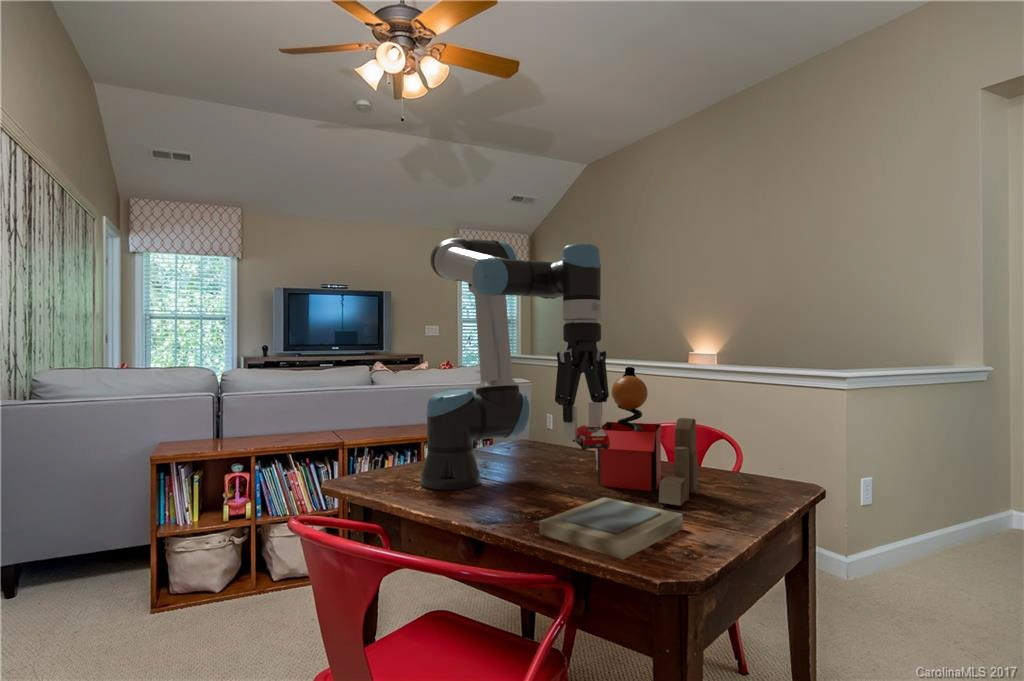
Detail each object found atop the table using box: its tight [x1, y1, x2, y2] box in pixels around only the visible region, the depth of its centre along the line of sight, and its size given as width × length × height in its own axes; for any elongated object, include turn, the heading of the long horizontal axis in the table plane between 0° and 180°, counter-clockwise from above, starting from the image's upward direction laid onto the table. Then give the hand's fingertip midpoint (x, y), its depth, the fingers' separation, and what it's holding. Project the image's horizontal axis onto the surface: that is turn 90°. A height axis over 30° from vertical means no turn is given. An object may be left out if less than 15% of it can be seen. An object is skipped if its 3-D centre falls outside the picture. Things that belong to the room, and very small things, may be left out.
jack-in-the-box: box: [594, 366, 664, 492], centre depth 148 cm, size 26×16×30 cm, turn 160°
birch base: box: [538, 496, 684, 560], centre depth 108 cm, size 18×22×3 cm
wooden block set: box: [658, 417, 699, 506], centre depth 131 cm, size 17×6×18 cm, turn 149°
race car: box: [572, 424, 610, 451], centre depth 110 cm, size 13×5×4 cm, turn 5°
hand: (583, 436), depth 113 cm, fingers closed on race car, 8 cm apart
